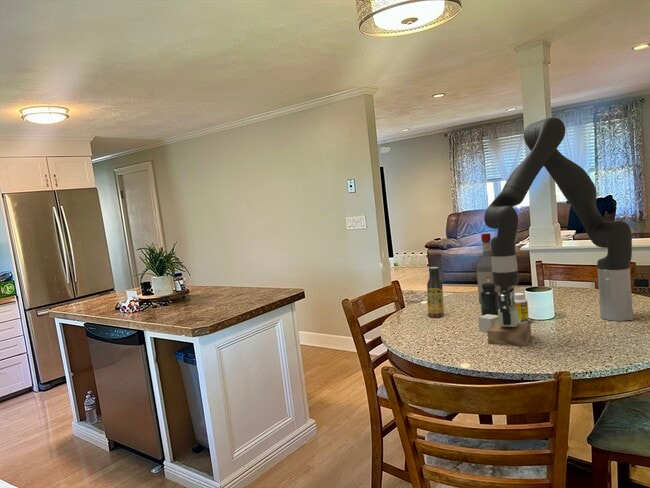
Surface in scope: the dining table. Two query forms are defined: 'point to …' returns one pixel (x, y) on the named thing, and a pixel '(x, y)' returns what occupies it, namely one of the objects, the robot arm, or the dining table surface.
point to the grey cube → (487, 321)
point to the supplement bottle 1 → (489, 299)
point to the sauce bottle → (435, 294)
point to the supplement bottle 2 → (521, 307)
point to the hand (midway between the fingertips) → (508, 322)
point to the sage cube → (513, 317)
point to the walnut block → (509, 334)
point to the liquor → (485, 265)
